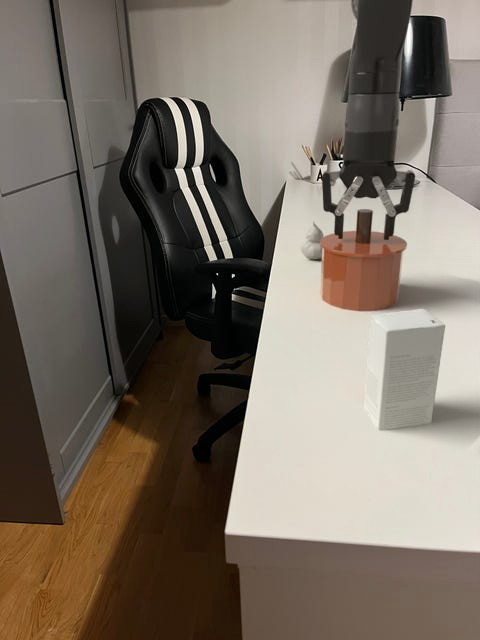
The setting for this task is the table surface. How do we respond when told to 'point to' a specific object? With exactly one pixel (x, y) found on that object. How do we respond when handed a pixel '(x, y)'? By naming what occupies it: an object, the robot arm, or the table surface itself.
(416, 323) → the cosmetic box
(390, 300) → the jar
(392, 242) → the jar lid
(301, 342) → the table surface
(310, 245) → the white lumpy pointed piece
